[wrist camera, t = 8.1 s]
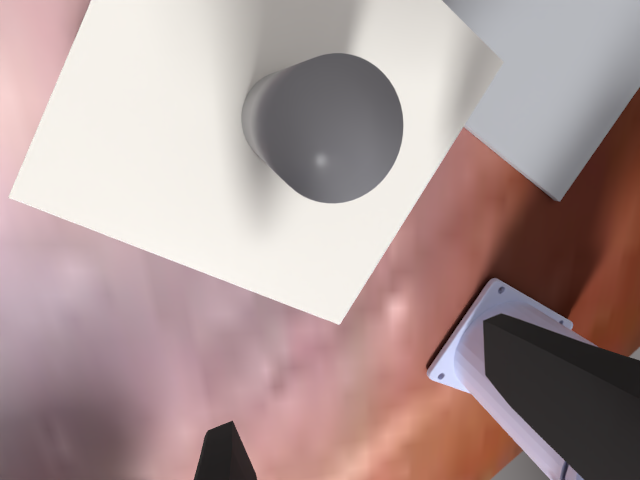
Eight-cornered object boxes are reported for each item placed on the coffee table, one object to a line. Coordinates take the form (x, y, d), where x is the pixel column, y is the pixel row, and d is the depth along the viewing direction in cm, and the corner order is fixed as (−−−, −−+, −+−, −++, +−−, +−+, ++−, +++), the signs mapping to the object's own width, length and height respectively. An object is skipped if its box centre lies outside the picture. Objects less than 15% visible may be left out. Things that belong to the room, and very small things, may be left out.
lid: (488, 63, 14) (651, 43, 9) (333, 315, 16) (395, 415, 11) (194, -220, 9) (188, -615, 4) (20, 191, 11) (-132, 268, 6)
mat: (702, -14, 21) (711, -16, 21) (554, 200, 23) (559, 201, 23) (571, -249, 15) (580, -258, 15) (390, 67, 17) (394, 66, 17)
